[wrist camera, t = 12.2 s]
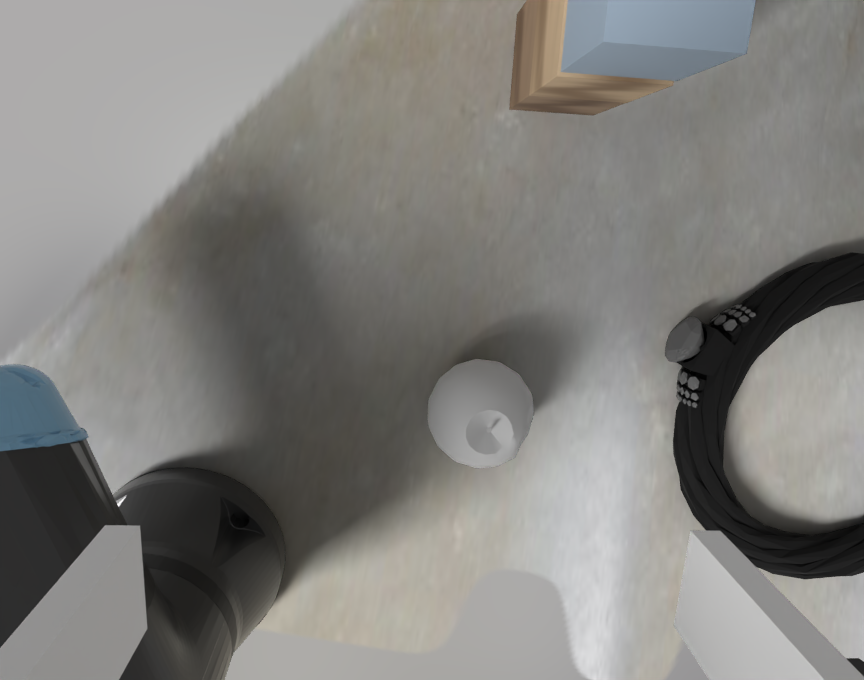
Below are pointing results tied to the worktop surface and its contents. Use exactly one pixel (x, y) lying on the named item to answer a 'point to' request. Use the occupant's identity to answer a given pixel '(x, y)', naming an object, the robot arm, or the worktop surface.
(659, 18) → the slate block
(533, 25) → the tower lower block
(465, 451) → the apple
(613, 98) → the tower upper block
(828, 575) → the ring
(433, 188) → the worktop surface
